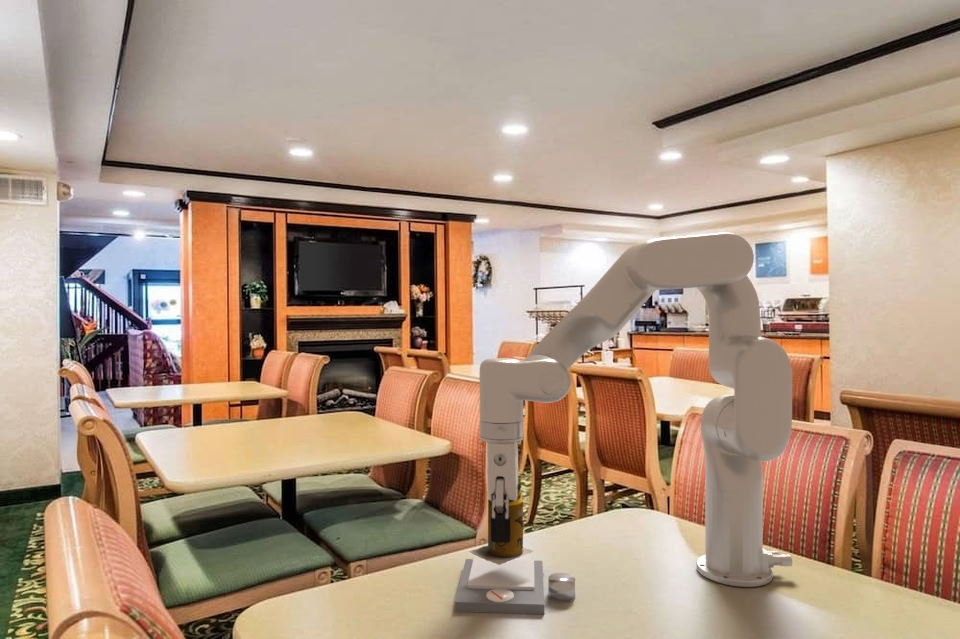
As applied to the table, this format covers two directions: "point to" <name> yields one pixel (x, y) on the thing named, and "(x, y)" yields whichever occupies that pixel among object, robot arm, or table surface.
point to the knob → (561, 587)
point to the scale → (501, 587)
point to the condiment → (514, 548)
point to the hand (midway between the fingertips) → (501, 533)
